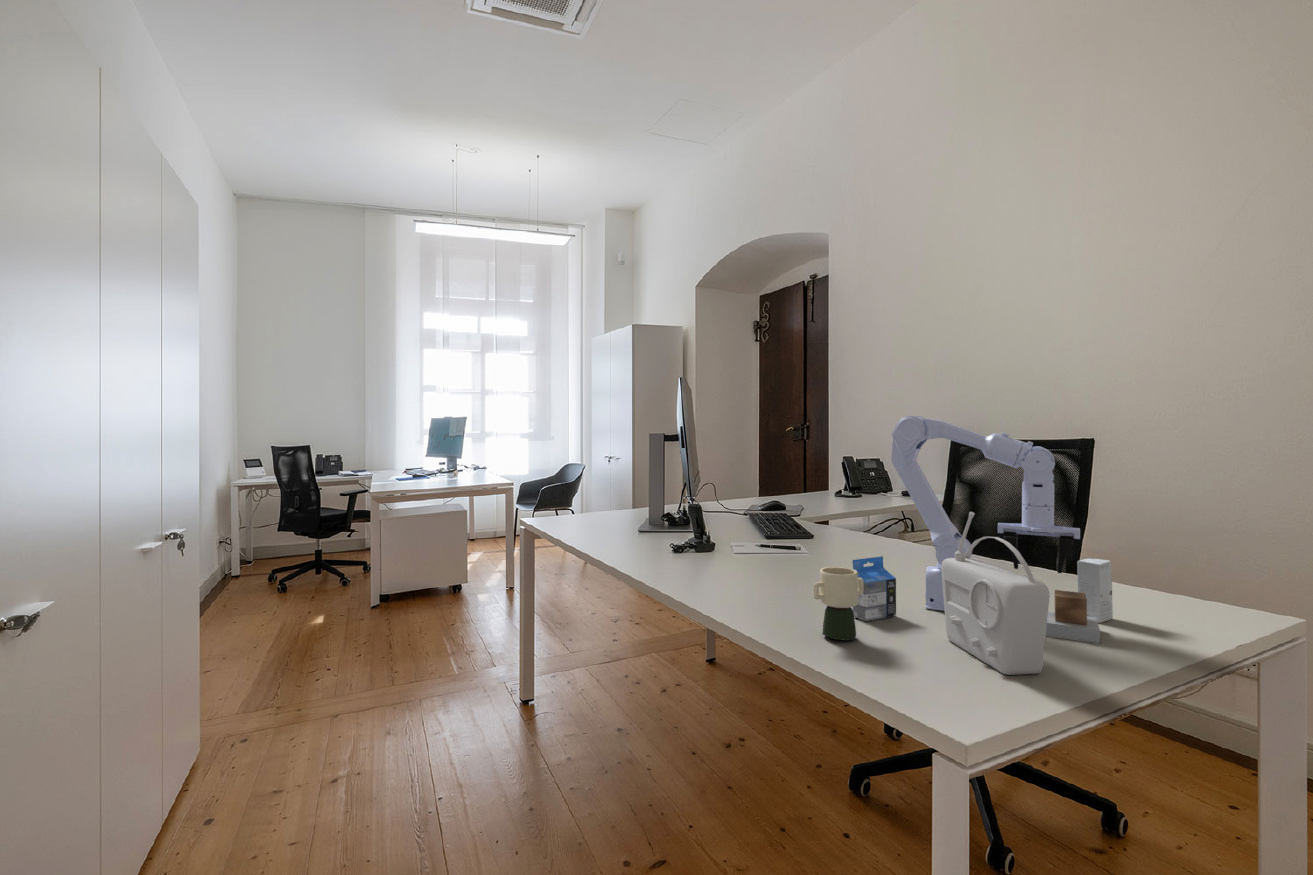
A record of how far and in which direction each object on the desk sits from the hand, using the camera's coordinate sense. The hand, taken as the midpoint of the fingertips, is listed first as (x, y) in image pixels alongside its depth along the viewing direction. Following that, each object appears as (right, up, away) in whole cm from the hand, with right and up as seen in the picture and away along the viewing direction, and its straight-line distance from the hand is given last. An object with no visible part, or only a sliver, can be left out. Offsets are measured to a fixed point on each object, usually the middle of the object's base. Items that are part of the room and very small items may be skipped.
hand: (1037, 570), depth 129 cm
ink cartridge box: (-33, -11, +3) cm, 35 cm away
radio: (-21, -11, -20) cm, 31 cm away
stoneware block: (+1, -11, -8) cm, 14 cm away
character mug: (-44, -11, -10) cm, 47 cm away
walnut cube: (+1, -8, -8) cm, 12 cm away
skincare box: (+12, -10, 0) cm, 16 cm away
